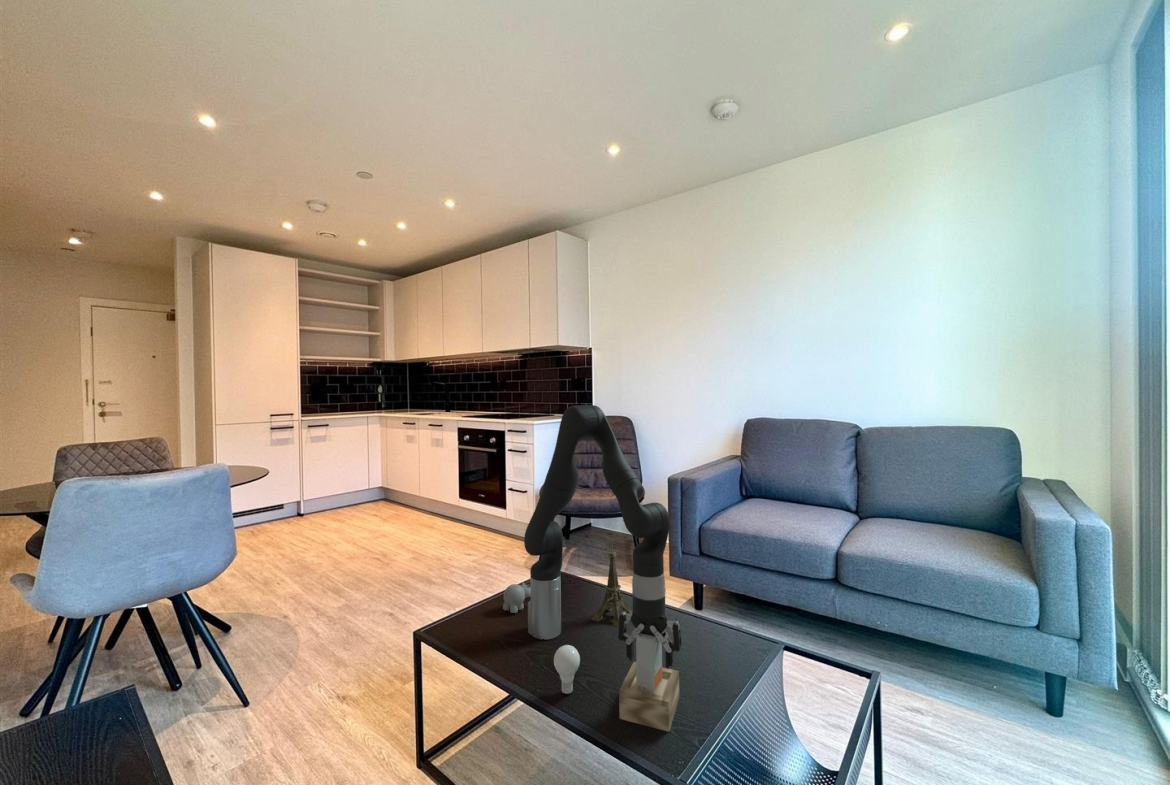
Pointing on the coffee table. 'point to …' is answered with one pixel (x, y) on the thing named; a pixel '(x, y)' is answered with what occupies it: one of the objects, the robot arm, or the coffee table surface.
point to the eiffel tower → (612, 594)
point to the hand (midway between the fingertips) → (649, 662)
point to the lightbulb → (567, 666)
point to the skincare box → (648, 663)
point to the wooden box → (650, 700)
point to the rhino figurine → (516, 597)
